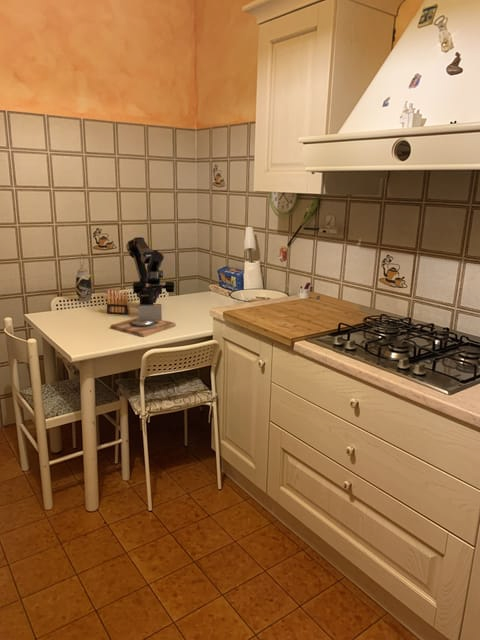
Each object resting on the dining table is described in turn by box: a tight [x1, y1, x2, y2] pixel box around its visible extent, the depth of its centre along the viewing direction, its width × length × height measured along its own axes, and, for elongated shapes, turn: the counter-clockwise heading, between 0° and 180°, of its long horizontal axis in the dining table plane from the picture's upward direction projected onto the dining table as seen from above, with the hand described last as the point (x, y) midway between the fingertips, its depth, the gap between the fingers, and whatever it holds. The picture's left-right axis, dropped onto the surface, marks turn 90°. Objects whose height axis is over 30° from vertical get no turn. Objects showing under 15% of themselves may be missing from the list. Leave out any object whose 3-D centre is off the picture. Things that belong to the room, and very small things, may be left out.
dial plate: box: [110, 316, 177, 338], centre depth 218 cm, size 20×20×2 cm
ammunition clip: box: [106, 289, 130, 316], centre depth 237 cm, size 11×2×12 cm, turn 83°
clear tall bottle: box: [75, 253, 93, 302], centre depth 260 cm, size 9×8×25 cm
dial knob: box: [132, 303, 163, 326], centre depth 217 cm, size 13×10×8 cm
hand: (154, 302), depth 223 cm, fingers closed
